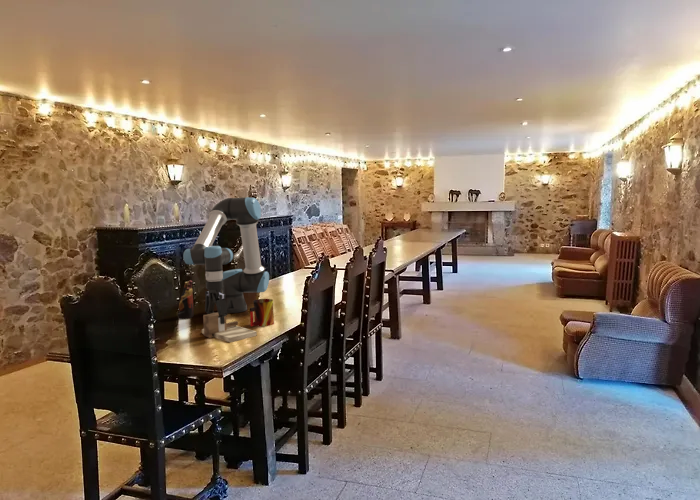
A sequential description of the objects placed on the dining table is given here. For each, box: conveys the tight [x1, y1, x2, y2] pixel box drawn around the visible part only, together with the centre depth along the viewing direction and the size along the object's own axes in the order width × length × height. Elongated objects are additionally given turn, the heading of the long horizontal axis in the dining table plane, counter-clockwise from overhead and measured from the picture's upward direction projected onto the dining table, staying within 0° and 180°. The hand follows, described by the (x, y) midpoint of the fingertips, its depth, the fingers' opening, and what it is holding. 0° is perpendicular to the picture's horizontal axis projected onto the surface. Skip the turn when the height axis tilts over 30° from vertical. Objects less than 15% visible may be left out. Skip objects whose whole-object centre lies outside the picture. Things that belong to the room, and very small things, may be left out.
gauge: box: [202, 311, 239, 339], centre depth 229 cm, size 5×16×10 cm, turn 136°
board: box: [201, 325, 258, 343], centre depth 228 cm, size 24×14×2 cm, turn 46°
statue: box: [177, 279, 195, 320], centre depth 264 cm, size 12×8×20 cm, turn 0°
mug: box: [249, 298, 275, 327], centre depth 244 cm, size 10×14×12 cm
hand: (216, 329), depth 225 cm, fingers open, 8 cm apart
